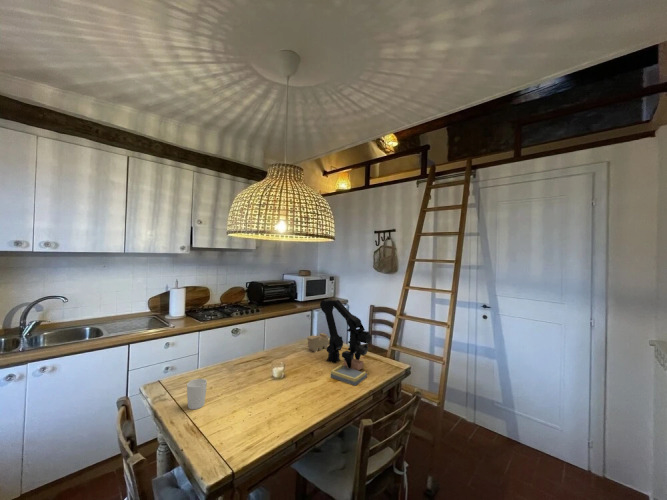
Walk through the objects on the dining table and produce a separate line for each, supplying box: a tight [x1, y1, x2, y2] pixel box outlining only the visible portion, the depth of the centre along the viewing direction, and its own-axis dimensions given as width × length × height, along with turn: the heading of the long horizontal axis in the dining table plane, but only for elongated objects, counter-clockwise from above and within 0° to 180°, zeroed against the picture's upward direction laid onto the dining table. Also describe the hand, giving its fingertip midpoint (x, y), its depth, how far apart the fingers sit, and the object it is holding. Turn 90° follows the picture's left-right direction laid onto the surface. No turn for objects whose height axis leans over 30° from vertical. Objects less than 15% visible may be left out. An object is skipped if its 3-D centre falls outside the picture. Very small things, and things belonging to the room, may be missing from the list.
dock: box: [330, 364, 368, 387], centre depth 156 cm, size 16×13×4 cm
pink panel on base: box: [343, 358, 364, 371], centre depth 168 cm, size 10×6×5 cm, turn 56°
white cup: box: [186, 378, 208, 410], centre depth 123 cm, size 8×8×10 cm
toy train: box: [306, 332, 330, 353], centre depth 198 cm, size 6×17×10 cm, turn 137°
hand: (353, 365), depth 168 cm, fingers open, 9 cm apart
